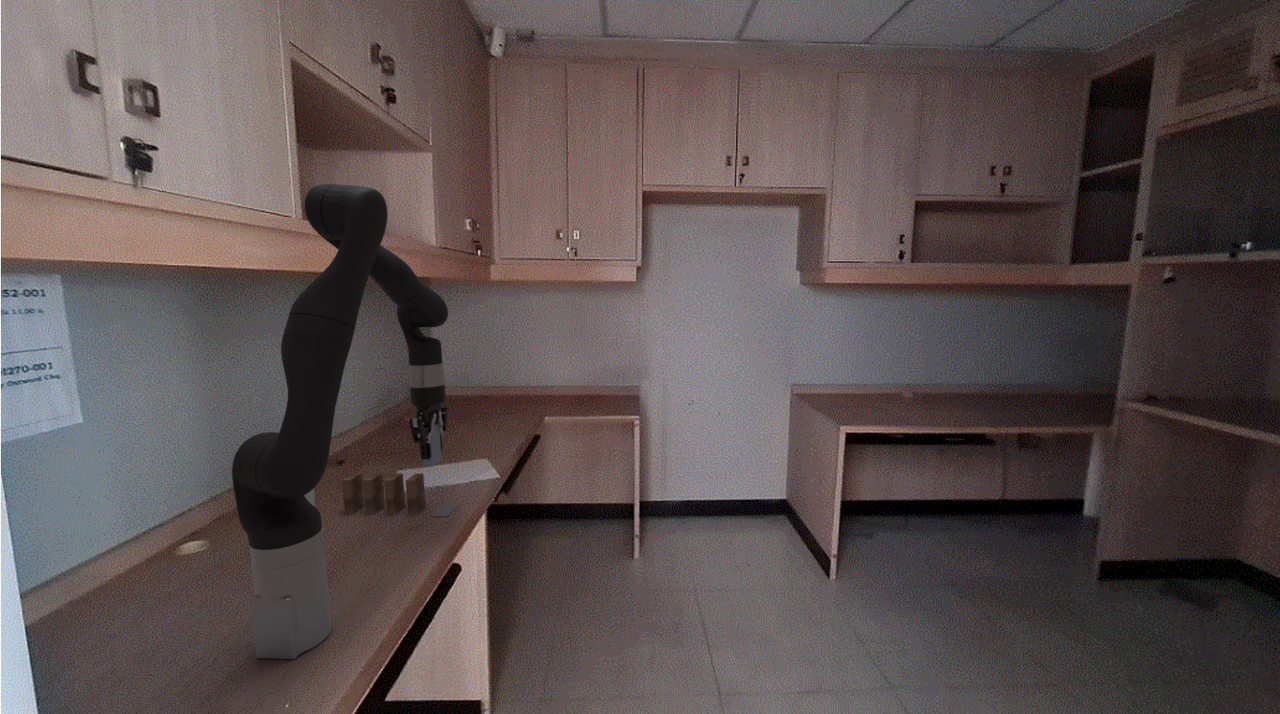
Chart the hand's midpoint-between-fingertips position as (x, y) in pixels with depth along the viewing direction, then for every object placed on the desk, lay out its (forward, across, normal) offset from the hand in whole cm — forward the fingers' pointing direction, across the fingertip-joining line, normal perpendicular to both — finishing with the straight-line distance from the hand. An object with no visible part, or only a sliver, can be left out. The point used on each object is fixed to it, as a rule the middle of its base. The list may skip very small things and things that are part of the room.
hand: (432, 454), depth 117 cm
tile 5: (+17, +8, +25) cm, 32 cm away
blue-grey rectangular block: (+2, 0, 0) cm, 2 cm away
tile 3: (+17, +8, +14) cm, 24 cm away
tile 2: (+17, +8, +9) cm, 21 cm away
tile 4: (+17, +8, +20) cm, 28 cm away
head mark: (+17, +8, +1) cm, 19 cm away
